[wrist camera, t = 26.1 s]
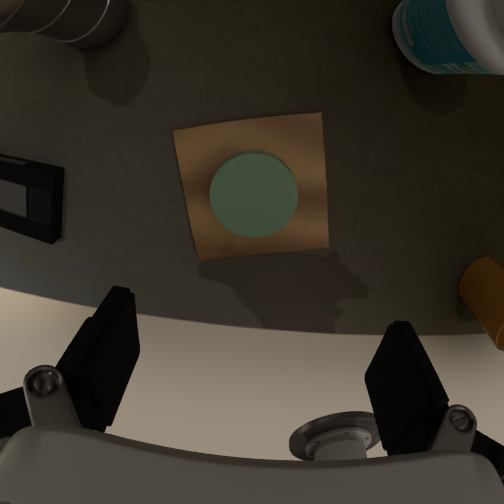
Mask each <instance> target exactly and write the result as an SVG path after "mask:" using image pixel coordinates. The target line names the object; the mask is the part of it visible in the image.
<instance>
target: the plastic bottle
mask: <svg viewBox="0 0 504 504" xmlns="http://www.w3.org/2000/svg"><path fill="white" fill-rule="evenodd" d="M127 12H128V1H127V0H0V33H6V32H21V33H27V32H28V33H37V34H41V35H44V36H47V37H51V38H54V39H56V40H57V41H59V42H61V43H63V44H65V45H67V46H70V47H73V48H89V47H96V46H99V45H102V44H103V43H105V42H107V41H108V40H110V39H111V38H112V37H113V36H114V35H115V34H116V33H117V32H118V31H119V30H120V28H121V27H122V25H123V23H124V21H125V19H126V16H127Z"/></svg>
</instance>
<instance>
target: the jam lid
mask: <svg viewBox="0 0 504 504" xmlns="http://www.w3.org/2000/svg"><path fill="white" fill-rule="evenodd" d="M296 182H297V181H296V179H295V177H293V174H292V171H291V168H290V167H288V166H287V165H286V163H285V162H284V161H283V159H282V160H281V159H280V158H279V157H277V156H276V155H274V153H269V152H266V151H263V150H262V149H261V150H251V149H250V150H245V151H242V152H240V151H239V152H238V153H236V154H234V155H232V156H231V157H230V156H229V157H228V159H227V160H225V161H224V162H223V163H222V164H220V166H219V169H218V170H217V172H216V173H215V174H214V175H213V180H212V182H211V186H210V193H209V198H210V204H211V208H212V211H213V213H214V215H215V216H216V218H217V219H218V221H219V222H220V223H221V224H222V225H223V226H224V227H225V228H227V229H228V230H230V231H231V232H233V233H235V234H238V235H241V236H245V237H263V236H267V235H270V234H273V233H275V232H277V231H278V230H280V229H281V228H283V227H284V226H285V225H286V224H287V223H288V222H289V220H290V219H291V218H292V216H293V214H294V212H295V210H296V207H297V202H298V189H297V185H296Z"/></svg>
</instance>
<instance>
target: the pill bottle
mask: <svg viewBox="0 0 504 504" xmlns="http://www.w3.org/2000/svg"><path fill="white" fill-rule="evenodd" d="M392 30H393V35H394V38H395V41H396V43H397V45H398V47H399V48H400V50H401V52H402V53H403V54H404V55H405V57H406V58H407V59H408V60H409V61H410V62H411V63H413V64H414V65H415V66H417V67H418V68H420V69H422V70H424V71H427V72H430V73H434V74H463V73H465V74H470V73H471V74H500V75H504V0H404V1H402V2H401V3H400V4H399V5H398V6H397V8H396V9H395V11H394V14H393V18H392Z"/></svg>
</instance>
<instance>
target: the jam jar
mask: <svg viewBox="0 0 504 504" xmlns="http://www.w3.org/2000/svg"><path fill="white" fill-rule="evenodd" d="M459 296H460V298H461V299H462V300H463V302H464V303H465V304H466V306H467V307H468V308H469V310H470V311H471V312H472V314H473V315H474V316H475V318H476V319H477V320H478V322H479V323H480V325H481V326H482V327H483V329H484V330H485V332H486V333H487V334H488V336H489V337H490V339H491V340H492V342H493V343H494V345H495V346H496V347H497V349H499V350H503V351H504V268H503V267H502V266H501V265H500V264H499V263H498V262H497V261H496V260H495V259H494V258H492V257H489V256H485V257H481V258H479V259H477V260H475V261H474V262H473V263H472V264H471V265H470V266H469V267H468V268H467V269H466V270H465V272H464V274H463V275H462V277H461V280H460V283H459Z"/></svg>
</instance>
